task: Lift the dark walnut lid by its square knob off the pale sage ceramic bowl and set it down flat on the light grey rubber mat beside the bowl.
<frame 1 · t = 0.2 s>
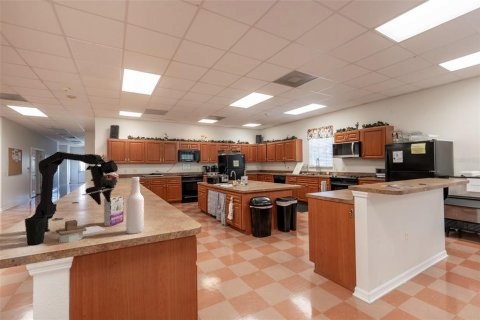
hand: (104, 203, 125), 15 cm above the countertop, tool pointing down, fingers open, 9 cm apart
candy bar box: (113, 224, 140), on the countertop
mat: (89, 230, 126), on the countertop
lid: (71, 231, 111), point 4 cm above the countertop, touching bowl
cup: (35, 244, 105), on the countertop
alcohol: (135, 232, 124), on the countertop
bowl: (71, 239, 111), on the countertop
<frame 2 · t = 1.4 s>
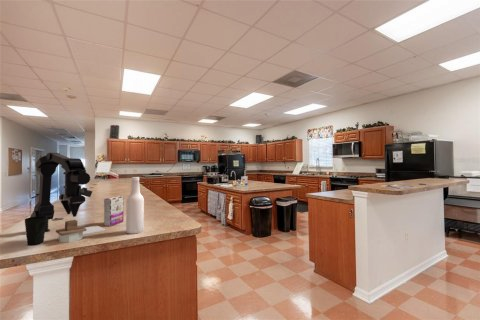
hand: (71, 215, 111), 12 cm above the countertop, tool pointing down, fingers open, 9 cm apart
nothing on the countertop moved.
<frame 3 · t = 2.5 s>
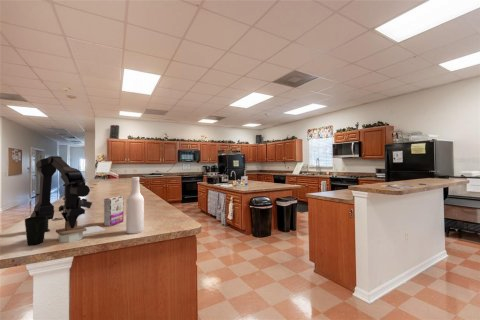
hand: (71, 227, 111), 6 cm above the countertop, tool pointing down, fingers closed on lid, 4 cm apart
lid: (71, 231, 111), point 4 cm above the countertop, touching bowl, gripper
everything else where it was.
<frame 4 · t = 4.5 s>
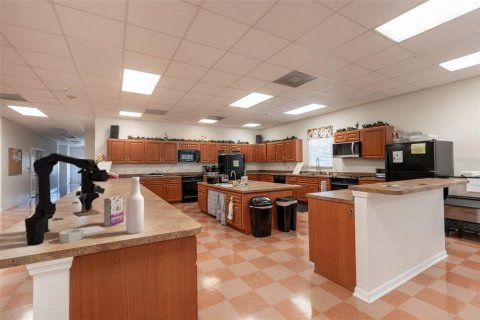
hand: (86, 210, 123), 12 cm above the countertop, tool pointing down, fingers closed on lid, 4 cm apart
lid: (86, 213, 123), point 10 cm above the countertop, touching gripper
everything else where it was.
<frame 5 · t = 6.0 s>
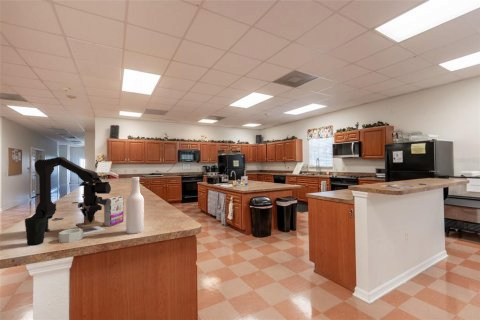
hand: (89, 221, 126), 5 cm above the countertop, tool pointing down, fingers closed on lid, 4 cm apart
lid: (89, 225, 126), point 3 cm above the countertop, touching gripper
everything else where it was.
when the fingers open (4 cm above the countertop, at t = 6.8 s): lid drops 2 cm, resting on mat.
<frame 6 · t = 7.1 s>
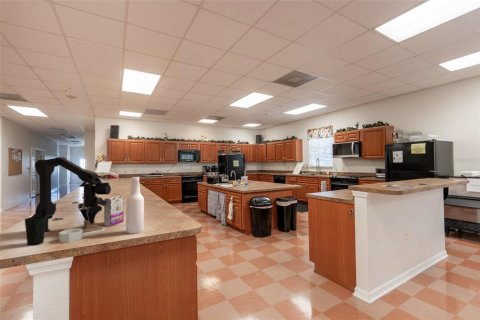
hand: (89, 222, 126), 4 cm above the countertop, tool pointing down, fingers open, 7 cm apart
lid: (89, 229, 126), point 1 cm above the countertop, touching mat
everything else where it was.
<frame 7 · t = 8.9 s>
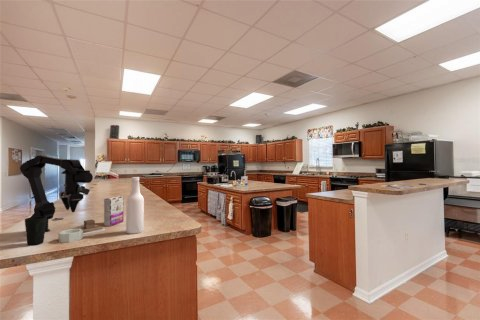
hand: (70, 210, 123), 12 cm above the countertop, tool pointing down, fingers open, 9 cm apart
nothing on the countertop moved.
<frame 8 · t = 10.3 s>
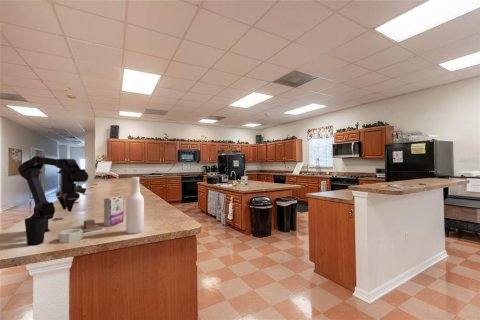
hand: (67, 210, 122), 12 cm above the countertop, tool pointing down, fingers open, 9 cm apart
nothing on the countertop moved.
at the end: lid inside the target area on the mat (0.0 cm from its centre), point 0.6 cm above the mat's base; lid touching mat; lid tilted 0° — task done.
